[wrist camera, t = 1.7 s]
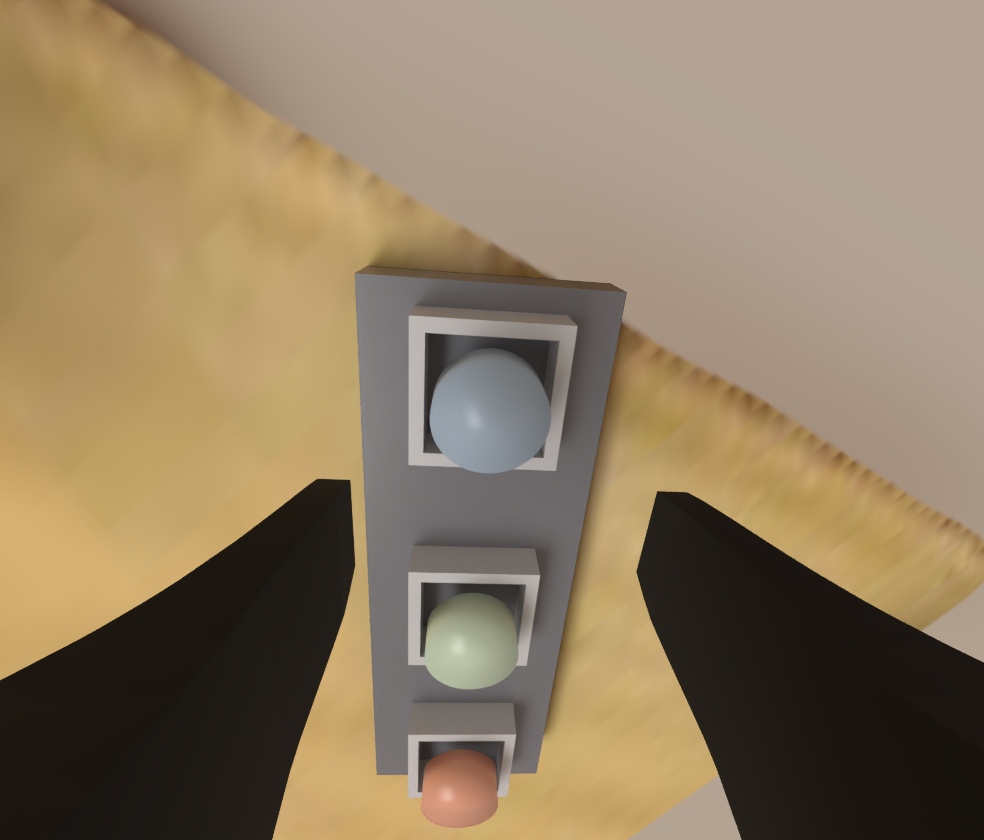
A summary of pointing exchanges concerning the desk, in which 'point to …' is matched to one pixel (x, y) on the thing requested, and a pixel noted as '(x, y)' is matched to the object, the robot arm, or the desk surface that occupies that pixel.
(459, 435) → the slate button
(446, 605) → the sage button
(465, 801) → the terracotta button
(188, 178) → the desk surface
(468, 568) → the button panel
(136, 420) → the desk surface
